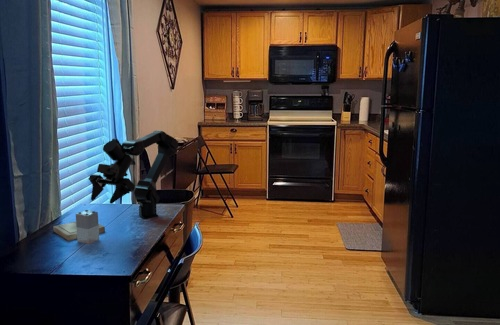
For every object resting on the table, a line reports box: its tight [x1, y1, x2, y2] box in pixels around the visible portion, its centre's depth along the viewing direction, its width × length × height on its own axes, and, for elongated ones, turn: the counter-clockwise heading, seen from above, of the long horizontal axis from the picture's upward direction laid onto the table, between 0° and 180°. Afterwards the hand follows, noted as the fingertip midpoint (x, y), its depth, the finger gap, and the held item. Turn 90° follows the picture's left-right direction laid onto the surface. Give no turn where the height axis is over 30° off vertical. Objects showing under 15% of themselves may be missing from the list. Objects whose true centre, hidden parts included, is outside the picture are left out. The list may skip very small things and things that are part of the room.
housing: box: [75, 209, 100, 245], centre depth 149 cm, size 5×6×11 cm
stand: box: [52, 221, 106, 242], centre depth 159 cm, size 14×14×2 cm
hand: (100, 201), depth 154 cm, fingers open, 9 cm apart
